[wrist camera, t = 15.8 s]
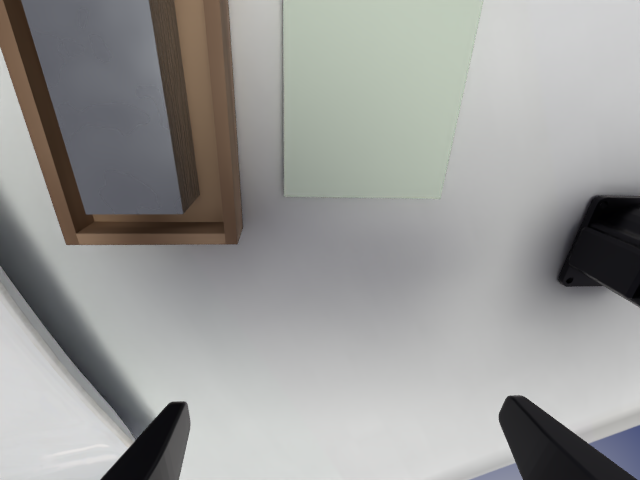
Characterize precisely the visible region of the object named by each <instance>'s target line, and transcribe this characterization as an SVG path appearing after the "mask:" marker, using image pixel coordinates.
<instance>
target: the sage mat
mask: <svg viewBox="0 0 640 480" xmlns="http://www.w3.org/2000/svg"><path fill="white" fill-rule="evenodd" d="M482 5H483V0H283V79H284V197H329V198H401V199H440V198H441V194H442V189H443V184H444V180H445V175H446V171H447V166H448V161H449V157H450V152H451V148H452V143H453V138H454V134H455V129H456V125H457V120H458V115H459V111H460V106H461V102H462V97H463V92H464V88H465V83H466V79H467V74H468V69H469V65H470V60H471V56H472V51H473V46H474V42H475V37H476V33H477V28H478V23H479V19H480V14H481V10H482Z"/></svg>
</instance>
